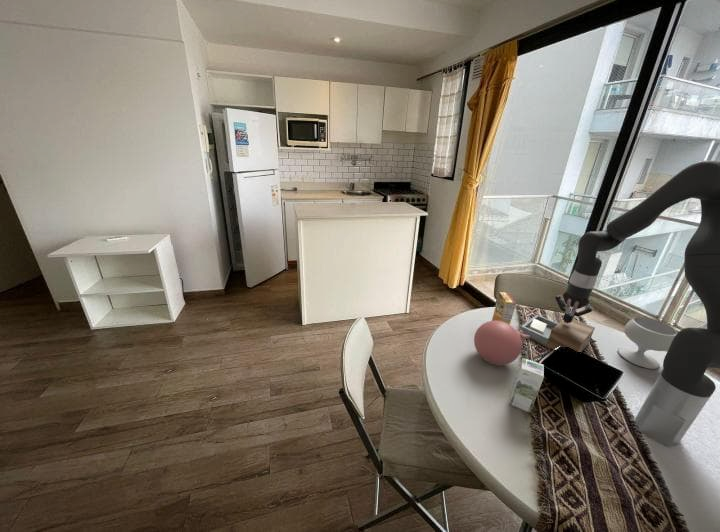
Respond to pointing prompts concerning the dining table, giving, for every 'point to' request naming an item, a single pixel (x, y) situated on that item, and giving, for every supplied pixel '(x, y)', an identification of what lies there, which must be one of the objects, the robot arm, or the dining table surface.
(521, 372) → the syrup box
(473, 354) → the dining table surface
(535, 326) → the tile
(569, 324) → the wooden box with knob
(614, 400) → the dining table surface
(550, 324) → the box
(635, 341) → the chalice
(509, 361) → the pink egg-shaped ball
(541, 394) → the dining table surface
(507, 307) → the candy box
